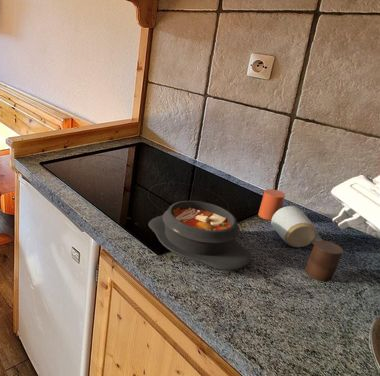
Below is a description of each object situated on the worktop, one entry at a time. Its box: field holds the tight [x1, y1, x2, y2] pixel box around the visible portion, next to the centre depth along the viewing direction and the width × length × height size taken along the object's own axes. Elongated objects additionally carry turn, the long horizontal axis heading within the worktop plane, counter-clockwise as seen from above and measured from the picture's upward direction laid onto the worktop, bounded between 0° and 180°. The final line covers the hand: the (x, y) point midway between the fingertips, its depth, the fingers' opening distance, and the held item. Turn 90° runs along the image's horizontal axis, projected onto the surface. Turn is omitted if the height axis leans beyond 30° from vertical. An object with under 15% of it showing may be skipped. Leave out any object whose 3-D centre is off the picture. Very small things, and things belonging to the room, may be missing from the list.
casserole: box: [147, 200, 253, 271], centre depth 95 cm, size 25×19×8 cm
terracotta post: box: [257, 188, 286, 221], centre depth 109 cm, size 5×5×7 cm
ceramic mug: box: [270, 205, 324, 248], centre depth 98 cm, size 11×8×8 cm
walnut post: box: [304, 240, 344, 283], centre depth 86 cm, size 5×5×7 cm
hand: (336, 224), depth 96 cm, fingers closed
